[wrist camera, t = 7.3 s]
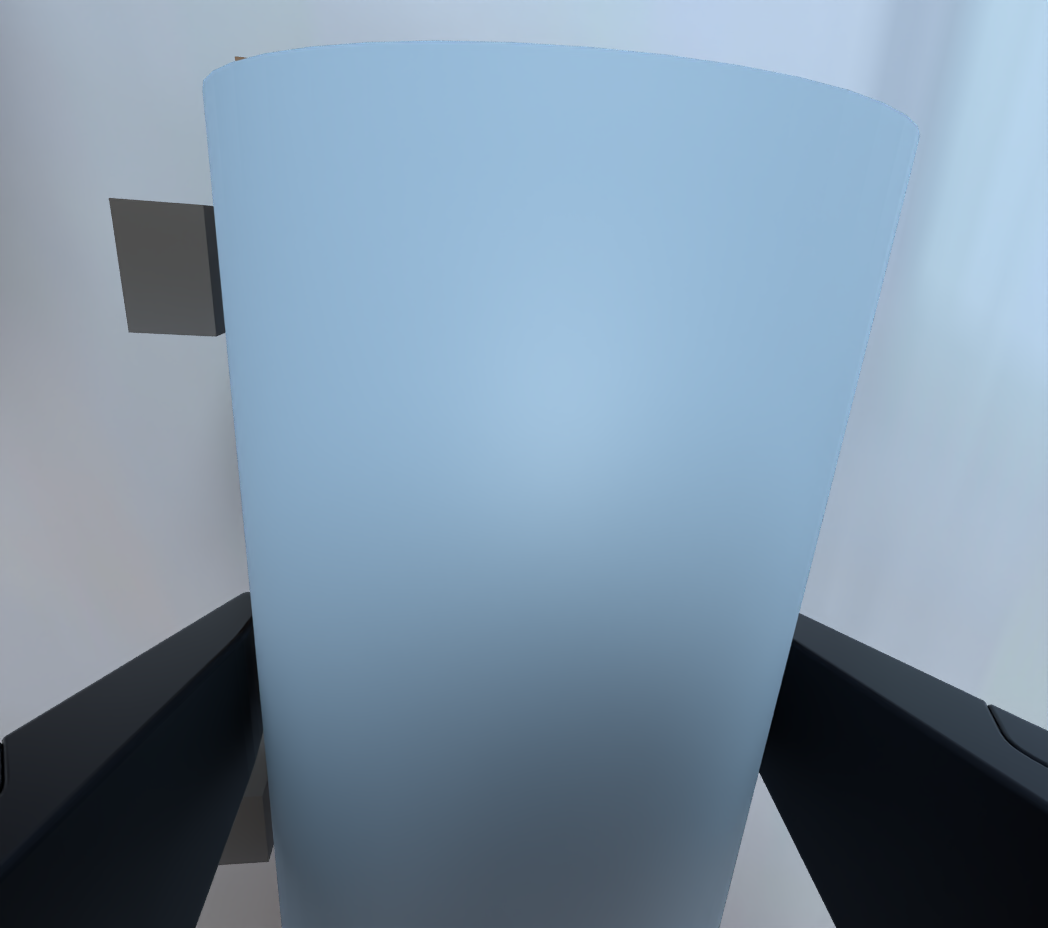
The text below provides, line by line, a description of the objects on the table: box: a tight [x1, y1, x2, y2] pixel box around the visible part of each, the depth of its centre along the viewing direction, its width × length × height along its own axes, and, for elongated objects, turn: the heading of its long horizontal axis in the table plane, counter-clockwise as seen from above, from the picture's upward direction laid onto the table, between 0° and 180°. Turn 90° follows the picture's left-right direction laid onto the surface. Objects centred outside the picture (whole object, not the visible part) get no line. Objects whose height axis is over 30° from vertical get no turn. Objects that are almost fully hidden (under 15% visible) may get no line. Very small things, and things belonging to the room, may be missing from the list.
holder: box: [109, 57, 274, 865], centre depth 13 cm, size 16×10×7 cm, turn 176°
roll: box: [203, 41, 920, 928], centre depth 8 cm, size 12×6×6 cm, turn 176°
